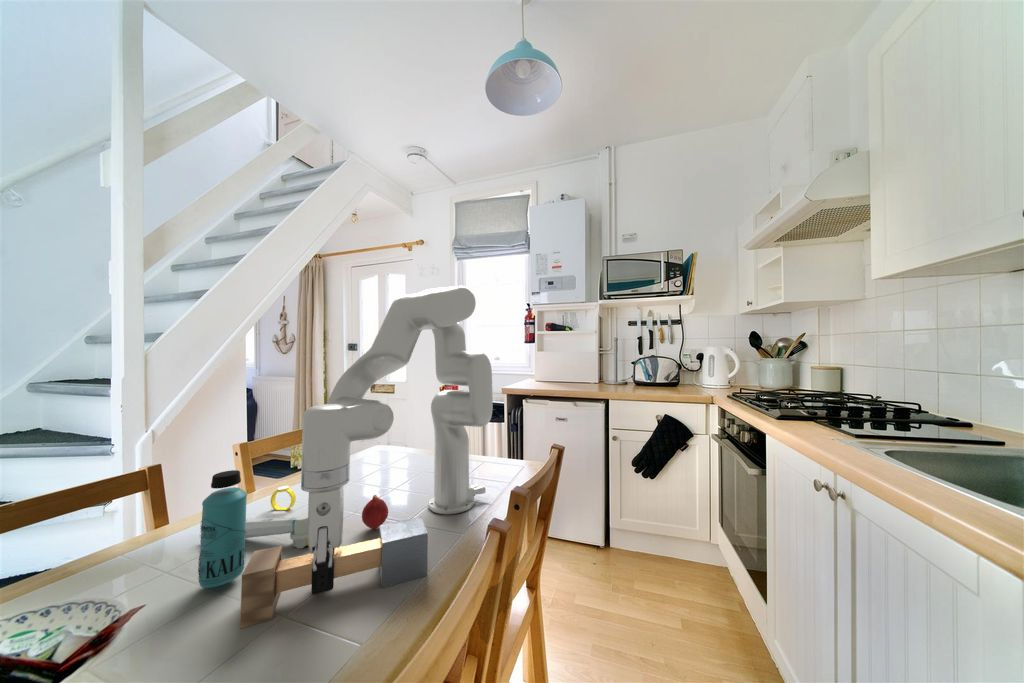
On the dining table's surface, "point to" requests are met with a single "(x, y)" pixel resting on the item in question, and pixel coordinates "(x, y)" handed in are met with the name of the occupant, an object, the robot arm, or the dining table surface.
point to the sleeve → (403, 551)
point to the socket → (259, 587)
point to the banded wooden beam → (343, 558)
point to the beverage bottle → (223, 531)
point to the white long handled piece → (280, 528)
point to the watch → (282, 489)
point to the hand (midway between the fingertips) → (324, 580)
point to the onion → (374, 513)
